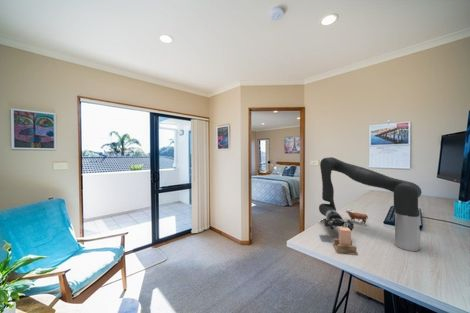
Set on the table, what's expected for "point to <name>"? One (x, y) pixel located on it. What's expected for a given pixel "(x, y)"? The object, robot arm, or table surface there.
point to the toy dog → (357, 216)
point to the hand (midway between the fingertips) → (341, 228)
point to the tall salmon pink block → (344, 236)
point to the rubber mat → (327, 238)
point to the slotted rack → (344, 248)
